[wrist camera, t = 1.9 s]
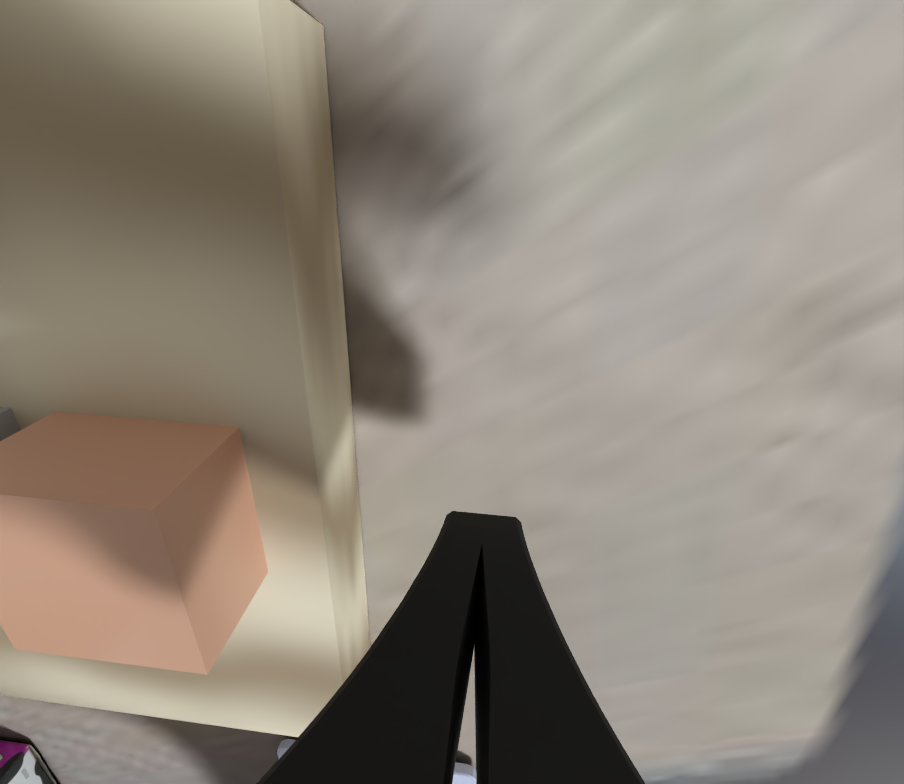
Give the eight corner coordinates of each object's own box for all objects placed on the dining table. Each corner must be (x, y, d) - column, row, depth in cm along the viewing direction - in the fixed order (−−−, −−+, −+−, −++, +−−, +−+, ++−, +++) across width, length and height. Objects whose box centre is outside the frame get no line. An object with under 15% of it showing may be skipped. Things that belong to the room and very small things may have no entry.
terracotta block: (268, 571, 11) (207, 674, 9) (112, 554, 11) (15, 649, 9) (238, 426, 9) (153, 510, 7) (55, 411, 10) (-83, 486, 7)
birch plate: (371, 664, 16) (349, 744, 14) (32, 622, 17) (-39, 689, 15) (322, 25, 8) (254, -27, 6) (-298, 22, 9) (-551, -24, 7)
